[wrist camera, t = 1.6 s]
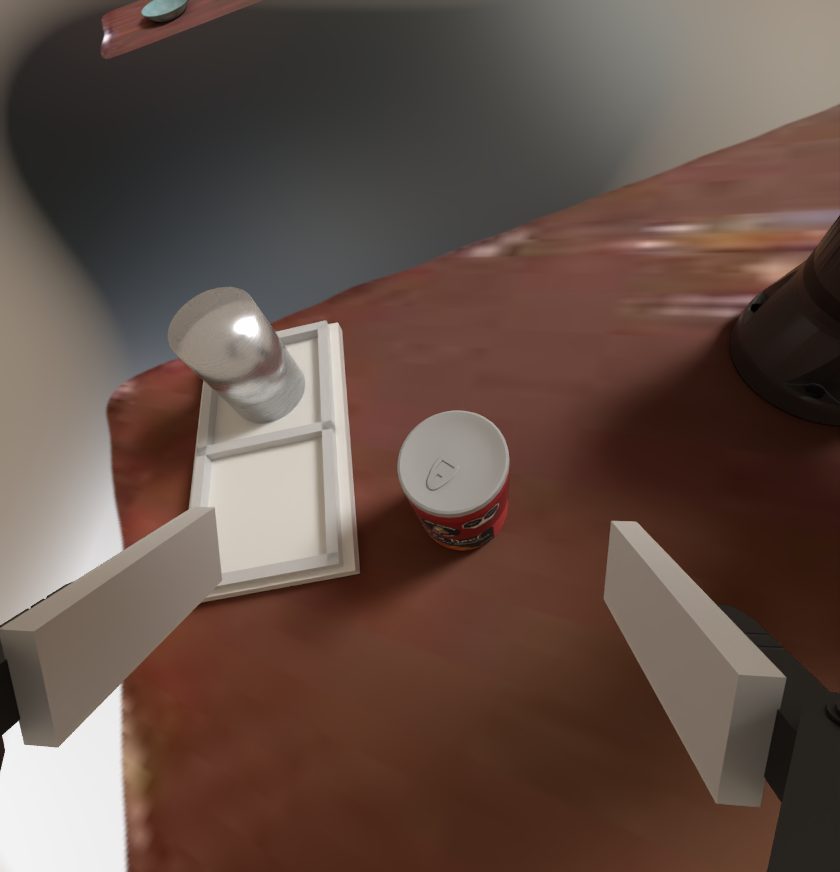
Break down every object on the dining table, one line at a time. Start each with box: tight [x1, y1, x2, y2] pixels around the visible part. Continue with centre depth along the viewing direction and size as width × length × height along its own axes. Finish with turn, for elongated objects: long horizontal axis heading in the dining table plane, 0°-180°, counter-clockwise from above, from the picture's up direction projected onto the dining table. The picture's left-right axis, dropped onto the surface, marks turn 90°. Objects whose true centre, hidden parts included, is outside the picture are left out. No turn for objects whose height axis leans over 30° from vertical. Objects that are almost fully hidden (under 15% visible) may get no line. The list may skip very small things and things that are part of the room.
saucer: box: [142, 0, 188, 22], centre depth 108 cm, size 12×12×2 cm
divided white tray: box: [189, 321, 360, 603], centre depth 45 cm, size 16×28×3 cm, turn 8°
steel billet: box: [168, 287, 305, 423], centre depth 43 cm, size 8×8×11 cm
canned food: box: [398, 411, 510, 550], centre depth 35 cm, size 8×8×11 cm
